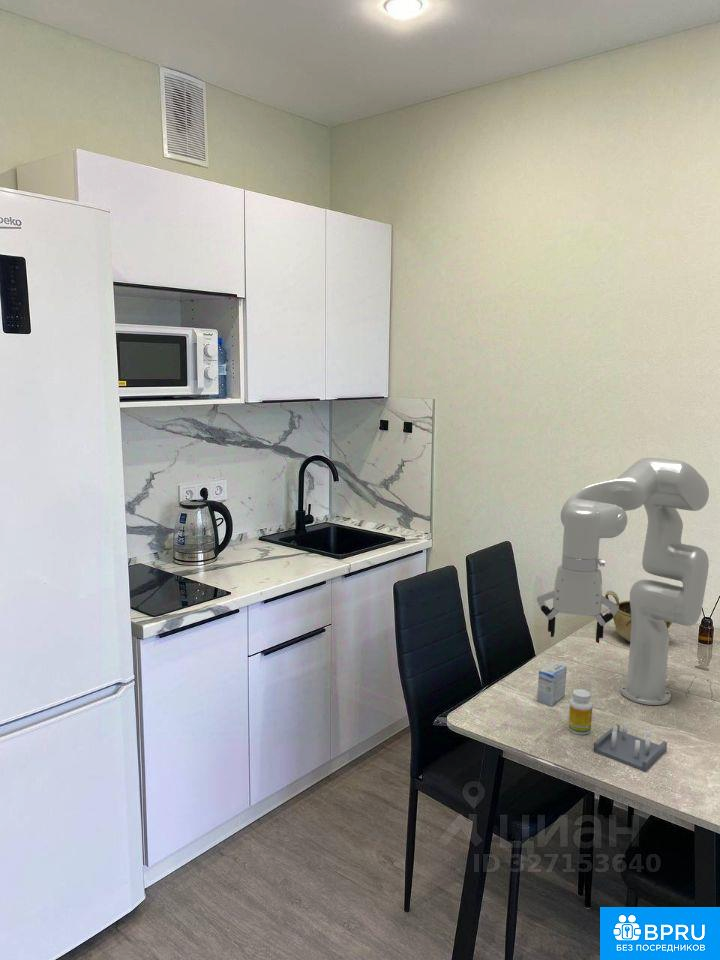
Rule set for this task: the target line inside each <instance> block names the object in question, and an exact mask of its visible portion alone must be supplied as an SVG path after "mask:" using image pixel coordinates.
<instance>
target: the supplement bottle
mask: <svg viewBox="0 0 720 960" xmlns="http://www.w3.org/2000/svg"><path fill="white" fill-rule="evenodd" d="M568 704H569V705H568V715H567V716H568V719H567V728H568V730H569V731H570V733H573V734H575V735H578V736H579V735H581V736H582V735H588V734H590V732H591V730H592V720H593V719H592V717H593V703H592V701H591V693H590V692H589V691H587V690H586V689H581V688H580V689H578V688H577V689H574V690H573V691H572V698H571V699H570V700H569V703H568Z"/></svg>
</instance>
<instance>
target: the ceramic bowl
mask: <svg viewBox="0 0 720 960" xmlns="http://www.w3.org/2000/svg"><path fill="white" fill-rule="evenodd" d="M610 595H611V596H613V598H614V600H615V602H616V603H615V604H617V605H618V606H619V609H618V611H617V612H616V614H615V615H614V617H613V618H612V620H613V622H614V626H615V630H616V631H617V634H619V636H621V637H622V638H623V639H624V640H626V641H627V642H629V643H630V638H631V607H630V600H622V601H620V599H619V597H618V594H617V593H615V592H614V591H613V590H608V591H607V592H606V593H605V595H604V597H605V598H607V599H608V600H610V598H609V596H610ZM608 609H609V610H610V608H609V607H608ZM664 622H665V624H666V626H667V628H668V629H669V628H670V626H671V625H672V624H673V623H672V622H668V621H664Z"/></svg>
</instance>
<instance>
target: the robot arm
mask: <svg viewBox="0 0 720 960" xmlns="http://www.w3.org/2000/svg"><path fill="white" fill-rule="evenodd" d="M709 496H710V489H709V486H708V482H707V481H706V480H705V478H704V477H703V476H702V475H701V474H700V473H699V472H698V470H697V469H696V468H695V467H693V466H692V465H691V464H689V463H687V462H685V461H683V460H677V459H676V460H675V459H667V458H658V457H643V458H641V459H639V460H637V461H635V462H634V463H633V464H632V465H631V466H630V467H628V468H627V469H626V470H625V471H623V472H622V473H621V474H620V475H619V476H617V478H613V479H607V480H605V481H602V482H597V483H593V484H590V485H587V486H584V487H582V488H580V489H579V490H577V491H576V492H575V493H573V494H572V495H571V496H570V497H569V498H567V500H566V501H565V503H564V504H563V506H562V508H561V511H560V522H561V524H562V526H563V535H562V536H563V537H562V538H563V539H562V554H561V555H562V556H561V565H558V567H557V570H556V575H555V579H554V589H553V590H552V591H549V592H547V593H544V594H543V593H542V594H540V595H538V596H537V597H536V602H537V605H538V606H539V607H540V610H541V612H542V613H543V614H544V615H545V617H547V619H548V621H547V622H548V623H547V632H549V633H550V638H553V637H555V632H556V616H557V615H558V614H559V613H560V614H568V615H577V616H586V617H593V618H594V619H595V620H596V632H595V633H596V634H595V642H596V643H597V644H600V639H604V629H605V626H606V624H607V623H609V622H610V621H611V620H613V617H614V615H615V614H616V612H617V611H618V609H619V606H618V605H617V604H616V603H615V602H613V601H611V600H610V599H609V600H608V599H607V598H605V596H603V578H602V571H601V569H600V568H601V567H606V565H605V564H606V560H604V559H601V558H600V557H599V552H600V551H599V550H600V539H613V538H617V537H618V536H620V535H621V534H623V532H624V531H625V529H626V527H627V524H628V515H627V511H633V510H636V509H638V508H640V507H642V506H644V509H645V511H646V517H647V527H646V534H645V541H644V545H643V553H642V559H641V560H642V561H641V563H642V568H643V570H644V571H645V572H646V573H648V574H650V575H652V576H653V575H654V576H657V577H661V578H664V579H665V578H666V579H668V580H669V579H670V580H674V581H677V582H678V581H679V582H681V583H682V586H679V585H675V584H671V583H667V582H663V581H658V580H653V579H641V580H637V581H635V582H634V584H632V586H631V588H630V591H629V601H630V607H631V638H630V642H629V651H628V652H629V653H628V655H629V656H628V667H627V678H626V679H627V680H626V682H623V683H622V684H621V685H620V690H619V691H620V693H621V694H622V695H623V696H624V697H625V698H626V699H628V700H631V701H632V702H636V703H637V704H641V705H642V704H643V705H646V706H647V705H650V706H661V705H666V704H668V703H669V702H670V701H671V697H672V694H671V692H670V691H669V690H668V689H667V688H666V684H667V683H666V680H667V678H668V674H667V669H668V658H669V657H668V656H669V645H670V631H669V628H667V626H666V624H665V622H664V621H668V622H672V624H676V625H681V626H685V627H692V626H694V625H696V624H697V623H698V621H699V620H700V618H701V615H702V611H703V605H704V599H705V594H706V587H707V580H708V574H709V566H710V565H709V563H710V562H709V556H708V554H707V552H706V550H704V549H703V548H701V547H699V546H695V545H692V544H686V543H685V544H684V543H682V534H683V530H684V529H683V528H684V522H683V519H682V517H681V515H680V513H679V511H678V510H683V511H691V512H694V511H695V512H696V511H701V510H702V509H703V508H705V506H707V505H706V504H707V503H708V502H709V501H708V500H709ZM551 599H552V600H553V602H552V608H551V609H550V608H549V606H547V605H546V602H547V601H549V600H551ZM602 605H604V606H605V607H607V608H608V609H609V608H610V609H609V610H608V612H607V613H605V614H604V615H603V614H602V612H601V611H602Z"/></svg>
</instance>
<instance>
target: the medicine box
mask: <svg viewBox="0 0 720 960" xmlns="http://www.w3.org/2000/svg"><path fill="white" fill-rule="evenodd" d="M567 669H568V668H567V666H566V665H564V664H560V663H556V662H553V661H552V662H550V663H548V664H547V665H546V666H544V667H543V668H541V670H538V679H537V696H536V697H537V702H538V703H540V704H544V705H547V706H549V707H553V706H554V705H556V704H557V702H558V701H560V700H561V699H563V697H565V692H566V681H567Z"/></svg>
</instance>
